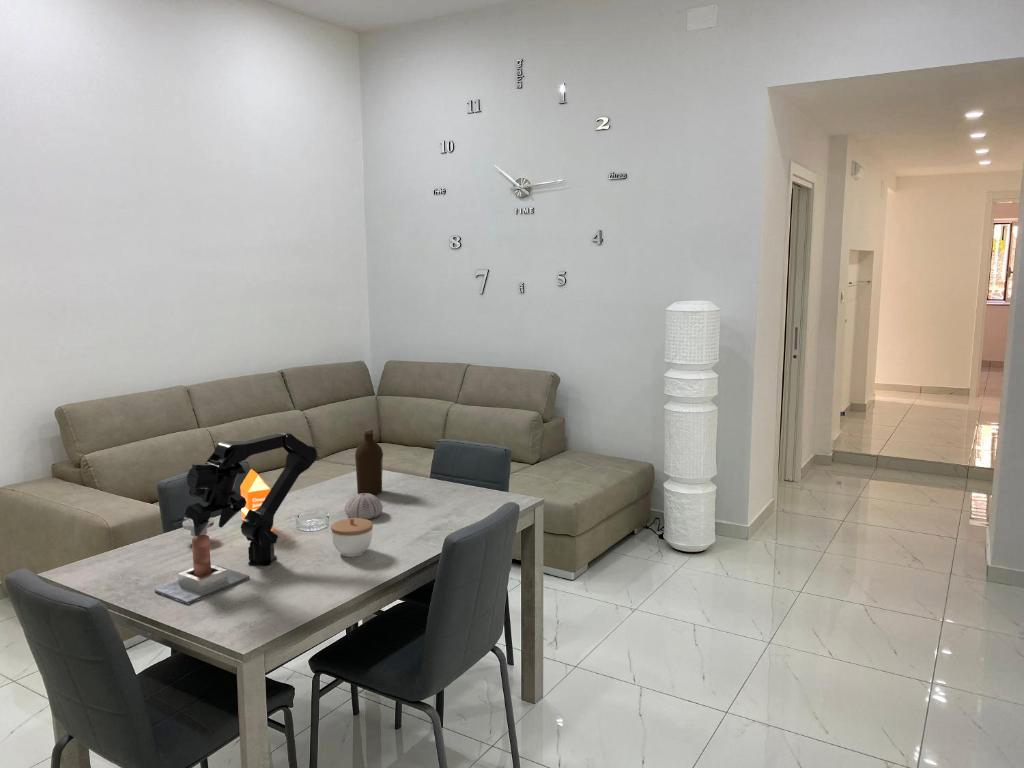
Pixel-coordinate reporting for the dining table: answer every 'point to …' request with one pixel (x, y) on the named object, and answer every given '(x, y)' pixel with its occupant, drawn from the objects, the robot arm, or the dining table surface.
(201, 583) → the dock
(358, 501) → the sea urchin shell
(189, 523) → the showerhead
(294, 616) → the dining table surface
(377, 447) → the olive oil
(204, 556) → the peg
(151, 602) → the dining table surface
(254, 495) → the orange juice
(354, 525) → the lidded bowl
